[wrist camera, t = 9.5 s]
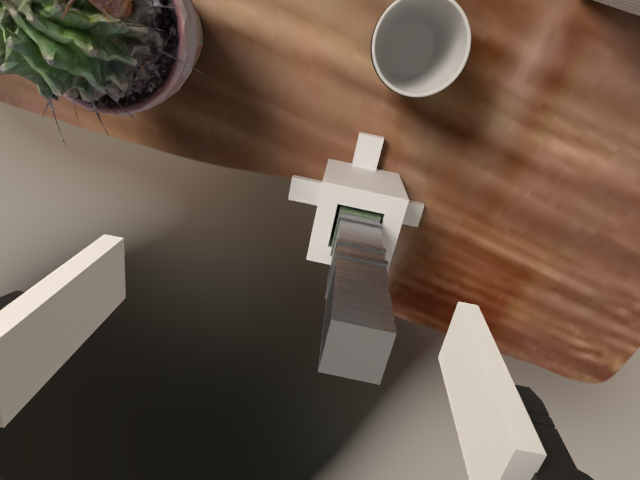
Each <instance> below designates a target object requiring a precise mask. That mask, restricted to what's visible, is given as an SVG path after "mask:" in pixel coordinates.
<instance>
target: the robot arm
mask: <svg viewBox="0 0 640 480" xmlns="http://www.w3.org/2000/svg"><path fill="white" fill-rule="evenodd" d="M124 299H125V264H124V238H121V237H116V236H110V235H105V234H104V235H103V236H101V237H100V238H99V239H97V240H96V241H95V242H93V243H92V244H91V245H89V246H88V247H86V248H85V249H84V250H82V251H81V252H80V253H78V254H77V255H75V256H74V257H73V258H71V259H70V260H69V261H67V262H66V263H64V264H63V265H62V266H60V267H59V268H58V269H56V270H55V271H54V272H52V273H51V274H49V275H48V276H47V277H45V278H44V279H43V280H41V281H40V282H39V283H37V284H36V285H34V286H33V287H32V288H30V289H29V290H28V291H26V292H21V291H15V292H12V293H10V294H7V295H5V296H2V297H0V427H5V426H6V425H7V424H8V423H9V421H11V420H12V418H13V417H14V416H15V415H16V414H17V413H18V412H19V411H20V410H21V409H22V408H23V407H24V405H26V403H27V402H28V401H29V400H30V399H31V398H32V397H33V396H34V395H35V394H36V393H37V392H38V391H39V390H40V389H41V387H42V386H43V385H44V384H45V383H46V382H47V381H48V380H49V379H50V378H51V377H52V376H53V375H54V373H56V371H57V370H58V369H59V368H60V367H61V366H62V365H63V364H64V363H65V362H66V361H67V360H68V358H70V356H71V355H72V354H73V353H74V352H75V351H76V350H77V349H78V348H79V347H80V346H81V345H82V344H83V343H84V341H85V340H86V339H87V338H88V337H89V336H90V335H91V334H92V333H93V332H94V331H95V330H96V329H97V328H98V326H100V324H101V323H102V322H103V321H104V320H105V319H106V318H107V317H108V316H109V315H110V314H111V313H112V312H113V310H114V309H115V308H116V307H117V306H118V305H119V304H120V303H121V302H122V301H123V300H124ZM438 359H439V363H440V367H441V371H442V374H443V379H444V383H445V386H446V390H447V394H448V398H449V402H450V406H451V410H452V414H453V418H454V421H455V426H456V429H457V433H458V438H459V441H460V446H461V449H462V453H463V457H464V461H465V465H466V469H467V473H468V477H469V480H593V479H592V478H591V477H590V476H589V475H587V474H585V473H583V472H582V471H580V470H578V469H577V468H576V466H575V464H574V462H573V460H572V458H571V456H570V454H569V453H568V450H567V449H566V447H565V445H564V443H563V441H562V439H561V437H560V435H559V433H558V431H557V429H555V425H554V423H553V421H552V420H551V418H550V417H549V414H548V412H547V410H546V408H545V406H544V404H543V402H542V400H541V399H540V398H539V397H538V396H537V395H536V394H535V393H534V392H533V391H532V390H531V389H530V388H529V387H524V386H519V385H514V382H513V380H512V378H511V376H510V374H509V372H508V369H507V367H506V365H505V363H504V361H503V359H502V357H501V354H500V352H499V350H498V348H497V346H496V343H495V341H494V339H493V337H492V335H491V333H490V330H489V328H488V326H487V324H486V322H485V319H484V317H483V315H482V313H481V311H480V309H479V306H478V305H474V304H469V303H464V302H458V304H457V307H456V309H455V312H454V315H453V318H452V320H451V323H450V326H449V329H448V331H447V334H446V337H445V340H444V342H443V345H442V348H441V351H440V354H439V356H438Z"/></svg>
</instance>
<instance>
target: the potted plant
mask: <svg viewBox="0 0 640 480" xmlns="http://www.w3.org/2000/svg"><path fill="white" fill-rule="evenodd" d="M202 46H203V31H202V26H201V22H200V17H199V15H198V13H197V11H196V9H195V8H194V6H193V3H192V0H0V71H1V73H3V74H18V75H20V76H22V77H24V78H26V79H28V80H30V81H32V82H34V83H36V85H37V88H38V90H39V92H40V95H42V96H43V97H44V98H46V100H47V105H46V108H47V106H48V104H49V106H50V108H51V110H52V112H53V114H54V110H53V106H52V102H51V99H55V100H58V98H57V96H60V97H62V96H64V97H65V98H67V99H69V100H71V101H72V102H74V106H75V103H76V104H78V105H80V106H81V107H83V108H85V109H87V110H88V111H92V112H96V114H97V116H98V118H99V119H100V116H99V114H98V112H99V113H106V114H113V115H120V116H127V115H130V114H134V113H137V112H140V111H144V110H147V109H150V108H152V107H154V106H157V105H159V104H161V103H162V102H164V101H165V100H166V99H168V98H169V97H171V96H172V95H173V94H175V93H176V92H177V91H179V90H180V88H181V87H182V85H183V84H184V82H185V81H186V79H187V78H188V76H189V75H190V73H191V72H192V68H193V66H194V65H195V64H196V63H197V61H198V58H199V56H200V53H201V50H202ZM193 69H194V70H196V71H198V72H200V71H199V70H197V69H195V68H193ZM200 73H202V72H200ZM3 74H0V75H3ZM202 74H204V73H202ZM56 95H57V96H56ZM75 110H76V108H75ZM45 111H46V109H45ZM44 113H45V112H44ZM76 115H77V113H76ZM43 116H44V115H43ZM130 116H131V115H130ZM54 117H55V114H54ZM55 120H56V118H55ZM77 120H78V119H77ZM100 121H101V119H100ZM56 123H57V121H56ZM101 123H102V122H101ZM57 125H58V124H57ZM102 125H103V124H102ZM103 127H104V126H103ZM104 129H105V128H104ZM105 130H106V129H105ZM106 132H107V131H106ZM107 134H108V133H107ZM108 136H109V135H108ZM63 141H64V140H63Z"/></svg>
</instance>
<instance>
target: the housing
mask: <svg viewBox="0 0 640 480" xmlns="http://www.w3.org/2000/svg"><path fill="white" fill-rule="evenodd" d="M383 142H384V137H382V136H377V135H373V134H368V133H363V132H359V136H358V140H357V145H356V149H355V153H354V158H353V162H352V163H347V162H343V161H338V160H333V159H328V163H327V167H326V170H325V174H324V178H323V181H320V180H315V179H311V178H306V177H302V176H297V175H293V176H292V180H291V186H290V191H289V197H288V200H293V201H297V202H302V203H307V204H312V205H316V206H317V210H316V215H315V220H314V225H313V230H312V234H311V239H310V244H309V249H308V254H307V258H306V259H307V260H311V261H315V262H320V263H325V264H329V265H331V259H332V256H330V254H331V249H332V247H331V246H332V240H333V236H334V232H335V227H336V223H337V219H338V214H335V213H336V209H337V204H340V205H345V206H349V207H354V208H359V209H363V210H368V211H372V212H377V213H378V214H379V215H381V220H380V223H381V224H382V229H381V235H382V241H383V248H386V255H385V260H386V261H388V268H387V273H388V269H389V266H390V263H391V259H392V256H393V253H394V249H395V246H396V243H397V239H398V236H399V232H400V229H401V226H402V224H404V225H409V226H414V227H418V225H419V222H420V218H421V215H422V212H423V209H424V204H423V203H422V202H417V201H413V200H409V199H408V196H407V193H406V191H405V188H404V186H403V183H402V180H401V178H400V175H399V174H398V173H393V172H389V171H384V170H380V169H377V165H378V161H379V157H380V153H381V149H382V146H383Z"/></svg>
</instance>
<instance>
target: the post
mask: <svg viewBox="0 0 640 480" xmlns="http://www.w3.org/2000/svg"><path fill="white" fill-rule="evenodd" d="M380 220H381V215H379V214H378V213H377V212H372V211H368V210H363V209H359V208H354V207H349V206H345V205H341V206H340V210H339V214H338V219H337V223H336V227H335V232H334V236H333V240H332V246H331V247H332V249H331V254H330V256H332V259H331V266H330V271H329V275H328V279H327V285H328V286H327V290H326V294H325V299H327V301H326V309H325V318H324V326H323V335H322V343H321V351H320V359H319V368H318V372H322V373H326V374H331V375H336V376H341V377H345V378H350V379H355V380H359V381H365V382H369V383H374V384H378V385H379V384H380V382H381V379H382V376H383V373H384V370H385V367H386V364H387V361H388V358H389V355H390V352H391V348H392V346H393V343H394V339H395V336H396V328H395V322H394V314H393V308H392V301H391V295H390V288H389V281H388V275H387V268H388V261H386V260H385V255H386V248H383V241H382V235H381V229H382V224H381V223H380Z"/></svg>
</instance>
